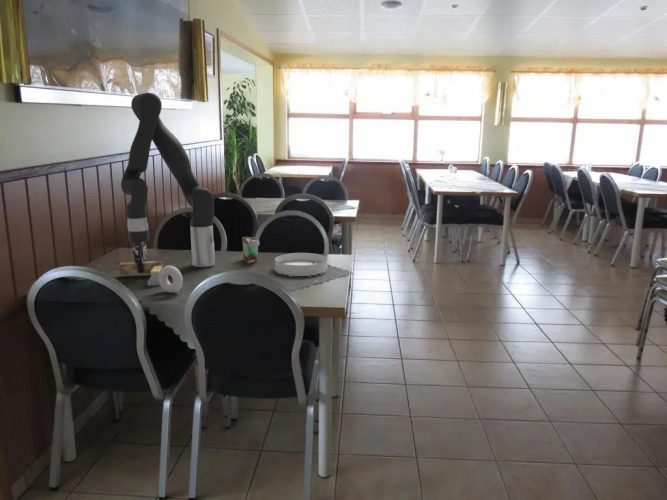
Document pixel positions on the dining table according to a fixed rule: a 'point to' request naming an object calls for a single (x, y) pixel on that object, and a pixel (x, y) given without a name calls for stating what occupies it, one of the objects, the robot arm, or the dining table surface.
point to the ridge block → (154, 276)
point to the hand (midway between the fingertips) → (142, 271)
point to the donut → (165, 282)
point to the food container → (250, 249)
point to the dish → (300, 263)
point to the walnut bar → (132, 268)
